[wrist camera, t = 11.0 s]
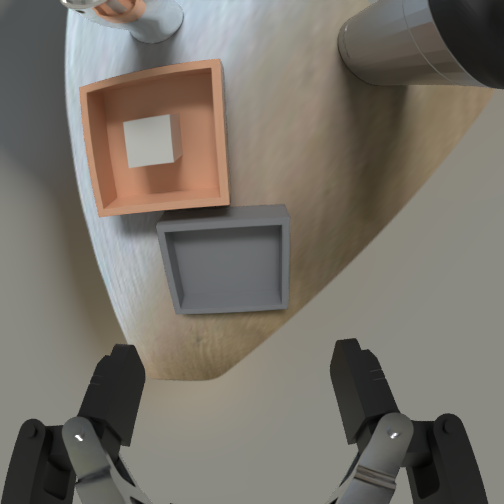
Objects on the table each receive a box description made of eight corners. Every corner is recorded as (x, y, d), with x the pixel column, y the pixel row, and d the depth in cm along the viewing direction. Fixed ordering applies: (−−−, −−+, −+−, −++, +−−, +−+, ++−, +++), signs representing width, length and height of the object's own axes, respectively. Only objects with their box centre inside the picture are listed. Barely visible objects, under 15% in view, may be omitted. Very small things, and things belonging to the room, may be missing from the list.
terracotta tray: (223, 66, 25) (220, 58, 21) (230, 190, 32) (229, 204, 27) (100, 88, 25) (79, 87, 20) (116, 201, 32) (99, 217, 27)
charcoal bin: (284, 204, 33) (290, 217, 29) (283, 289, 39) (288, 308, 35) (164, 212, 33) (155, 225, 29) (180, 295, 38) (175, 314, 35)
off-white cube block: (179, 113, 26) (169, 114, 22) (182, 154, 29) (173, 162, 25) (138, 119, 26) (123, 122, 22) (143, 159, 28) (128, 168, 24)
